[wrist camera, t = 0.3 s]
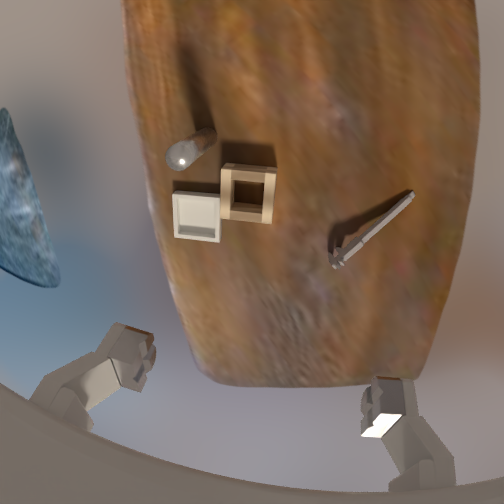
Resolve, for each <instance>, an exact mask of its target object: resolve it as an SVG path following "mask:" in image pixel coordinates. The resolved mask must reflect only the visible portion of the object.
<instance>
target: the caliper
mask: <svg viewBox="0 0 504 504" xmlns="http://www.w3.org/2000/svg"><path fill="white" fill-rule="evenodd" d="M414 197H415V194H414V192H413V191H412V192H410V193H409V194H408V195H406V196H405V197H404V198H402V199H401V200H400V201H399V202H398V203H397V204H395V205H394V206H393V207H392V208H391V209H390V210H389V211H388V212H387V213H386V214H384V215H383V216H382V217H381V218H380V219H379V220H378V221H377V222H375V223H374V224H373V225H372V226H371V227H370V228H369V229H367V230H366V231H365V232H364V233H363V234H362V235H361V236H359V237H355V238H354V239H353V240H352V241H351V242H350V243H349V244H348V245H347V247H345V248H344V249H343V248H340V247H336V248H335V249H336V251H337V252H338V253H339V255H337V256H336V257H335V258H334V256H333V255H332V254H331V253H329V254H328V258H329V262H330V264H331V265H332V266H333V267H334V268H335V269H336V268H338V269H339V270H340V264H341V265H345V264H344V263H343V261H344V260H345V261H346V260H347V259H348V258H350V257H351V256H352V255H353V254H354V253H355V252H357V251H358V250H359V249H360V248H361V247H362V246H363V245H364V243H365V242H366V241H368V240H369V239H370V238H371V237H372V236H373V235H374V234H376V233H377V232H378V231H379V230H380V229H381V228H382V227H383V226H385V225H386V224H387V223H388V222H389V221H390V220H391V219H392V218H394V217H395V216H396V215H397V214H398V213H399V212H400V211H401V210H402V209H404V208H405V207H406V206H407V205H408V204H409V203H410V202H411V201H412V200H411V199H412V198H414Z"/></svg>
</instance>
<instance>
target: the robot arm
mask: <svg viewBox="0 0 504 504" xmlns="http://www.w3.org/2000/svg"><path fill="white" fill-rule="evenodd" d="M153 341H154V336H153V334H152V333H149V332H146V331H143V330H140V329H136V328H133V327H130V326H127V325H124V324H121V323H117V322H116V323H114V324H113V325H112V326H111V328H110V330H109V331H108V333H107V334H106V336H105V337H104V339H103V340H102V342H101V344H100V345H99V347H98V348H97V350H96V352H95V353H94V352H90V353H88V354H86V355H84V356H82V357H80V358H79V359H76V360H75V361H72V362H71V363H69V364H67V365H65V366H63V367H61V368H59V369H57V370H55V371H53V372H51V373H49V374H47V375H45V376H44V377H43V379H42V381H41V382H40V384H39V385H38V387H37V388H36V390H35V391H34V393H33V395H32V396H31V398H30V399H29V400H27V399H25V398H24V397H22V396H20V395H18V394H17V393H15V392H14V391H12V390H11V389H9V388H7V387H6V386H4V385H3V384H1V383H0V504H504V477H500V478H496V479H491V480H487V481H482V482H476V483H471V484H465V485H459V486H456V476H455V466H454V457H453V456H452V454H451V453H450V452H449V451H448V449H447V448H446V447H445V445H444V444H443V442H442V441H441V440H440V439H439V437H438V436H437V435H436V434H435V432H434V431H433V430H432V428H431V427H430V426H429V424H428V423H427V422H426V420H425V419H424V418H423V417H422V416H419V413H418V406H417V399H416V393H415V386H414V382H413V380H412V379H400V378H392V377H380V376H375V377H374V378H373V379H372V380H371V386H370V387H368V388H366V390H365V391H364V393H363V396H362V399H361V412H362V413H363V415H364V418H363V419H362V420H361V436H367V437H380V438H381V440H382V441H383V443H384V445H385V447H386V449H387V450H388V452H389V454H390V456H391V458H392V459H393V461H394V463H395V465H396V466H397V468H398V470H399V472H400V475H399V476H398V477H396V478H395V479H393V480H392V481H390V483H389V492H337V491H321V490H309V489H299V488H290V487H282V486H275V485H268V484H262V483H256V482H250V481H245V480H240V479H235V478H229V477H225V476H221V475H216V474H212V473H208V472H204V471H200V470H196V469H192V468H189V467H185V466H182V465H178V464H175V463H171V462H168V461H165V460H162V459H159V458H156V457H153V456H150V455H147V454H144V453H141V452H138V451H136V450H133V449H130V448H127V447H125V446H122V445H120V444H117V443H114V442H112V441H110V440H107V439H105V438H103V437H100V436H98V435H96V434H93V433H91V432H90V431H91V429H92V427H93V425H94V423H93V421H92V419H91V418H90V416H89V414H88V413H87V411H88V410H89V409H91V408H92V407H94V406H95V405H96V404H98V403H100V402H101V401H102V400H104V399H105V398H107V397H108V396H109V395H111V394H112V393H113V392H115V391H117V390H118V389H119V388H120V387H121V386H122V387H125V388H128V389H131V390H134V391H137V392H141V391H142V389H143V387H144V384H145V382H146V380H147V377H146V373H147V372H149V371H150V370H152V368H153V365H154V363H155V359H156V347H155V346H154V345H153V344H152V343H153Z"/></svg>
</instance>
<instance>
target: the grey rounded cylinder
mask: <svg viewBox="0 0 504 504" xmlns="http://www.w3.org/2000/svg"><path fill="white" fill-rule="evenodd" d="M216 141H217V133H216V131H215V130H214V129H212V128H210V127H204V128H202V129H200V130H199V131H197V132H195V133H193V134H192V135H190V136H188V137H186V138H185V139H183V140H181V141H179V142H178V143H176V144H174V145H173V146H171V147H170V148H169V149H168V150H167V152H166V155H165V159H166V162H167V164H168V166H169V167H170V168H172V169H173V170H176V171H181V170H184V169H186V168H187V167H188V166H189V165H191V164H192V163H193V162H194V161H195V160H196V159H198V158H199V157H200V156H201V155H202V154H203V153H205V152H206V151H207V150H208V149H209V148H211V147H212V146H213V145H214V144H215V143H216Z"/></svg>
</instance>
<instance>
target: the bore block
mask: <svg viewBox="0 0 504 504" xmlns="http://www.w3.org/2000/svg"><path fill="white" fill-rule="evenodd" d="M276 178H277V167H267V166H257V165H246V164H234V163H226V164H225V165H224V166H223V167H222V169H221V193H220V218H221V219H231V220H240V221H249V222H258V223H267V224H271V223H272V218H273V211H274V200H275V189H276ZM235 180H241V181H251V182H261V183H265V185H264V198H263V205H259V204H249V203H240V202H234V192H235Z"/></svg>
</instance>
